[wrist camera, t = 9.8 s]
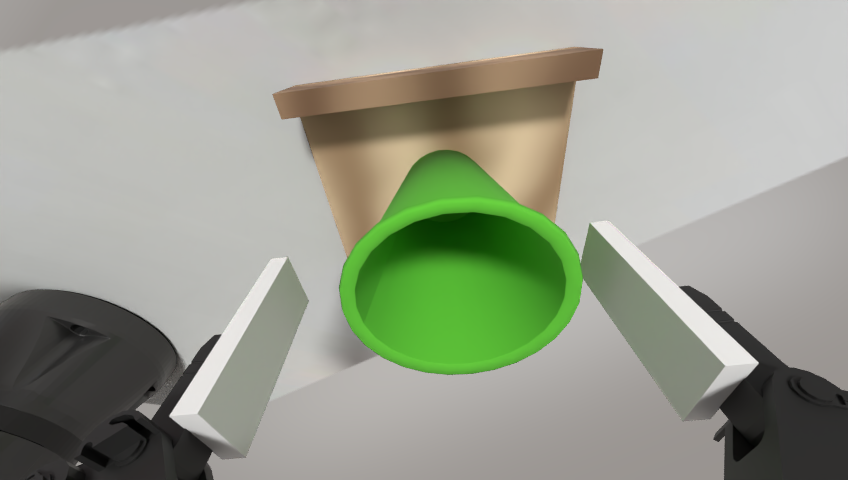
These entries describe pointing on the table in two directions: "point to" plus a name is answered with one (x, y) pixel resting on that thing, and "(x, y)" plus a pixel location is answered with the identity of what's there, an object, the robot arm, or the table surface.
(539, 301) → the cup
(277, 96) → the wooden tray
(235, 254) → the table surface
